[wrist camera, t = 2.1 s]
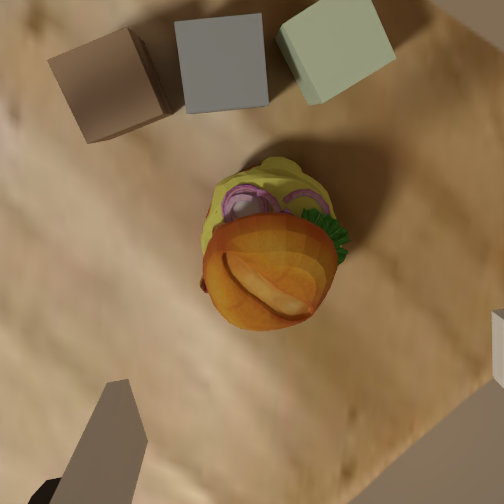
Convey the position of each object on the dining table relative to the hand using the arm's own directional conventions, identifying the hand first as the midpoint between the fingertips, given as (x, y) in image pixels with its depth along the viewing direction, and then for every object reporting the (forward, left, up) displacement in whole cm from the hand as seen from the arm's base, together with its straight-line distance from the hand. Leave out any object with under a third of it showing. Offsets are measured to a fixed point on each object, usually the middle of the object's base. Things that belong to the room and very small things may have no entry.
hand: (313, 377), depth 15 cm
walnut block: (-12, -8, -19) cm, 24 cm away
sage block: (-12, +6, -19) cm, 23 cm away
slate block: (-12, -1, -19) cm, 23 cm away
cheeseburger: (0, 0, -19) cm, 19 cm away
